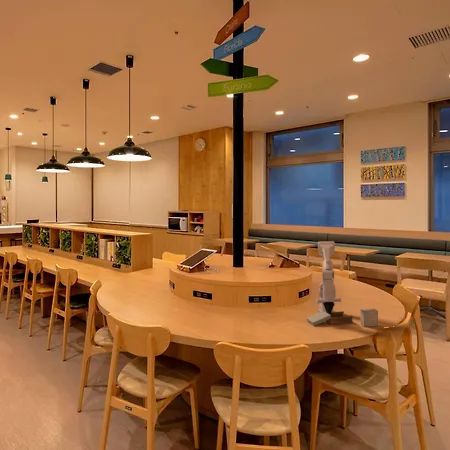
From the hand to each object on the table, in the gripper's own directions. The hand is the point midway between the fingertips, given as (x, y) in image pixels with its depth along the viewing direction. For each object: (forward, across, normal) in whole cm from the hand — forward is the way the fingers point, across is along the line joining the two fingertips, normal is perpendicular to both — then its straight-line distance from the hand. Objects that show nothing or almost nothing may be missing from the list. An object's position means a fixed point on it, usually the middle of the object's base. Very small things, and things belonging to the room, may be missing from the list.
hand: (328, 315), depth 202 cm
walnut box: (+4, +5, 0) cm, 7 cm away
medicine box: (+4, +18, -11) cm, 22 cm away
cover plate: (+2, -6, 0) cm, 6 cm away
